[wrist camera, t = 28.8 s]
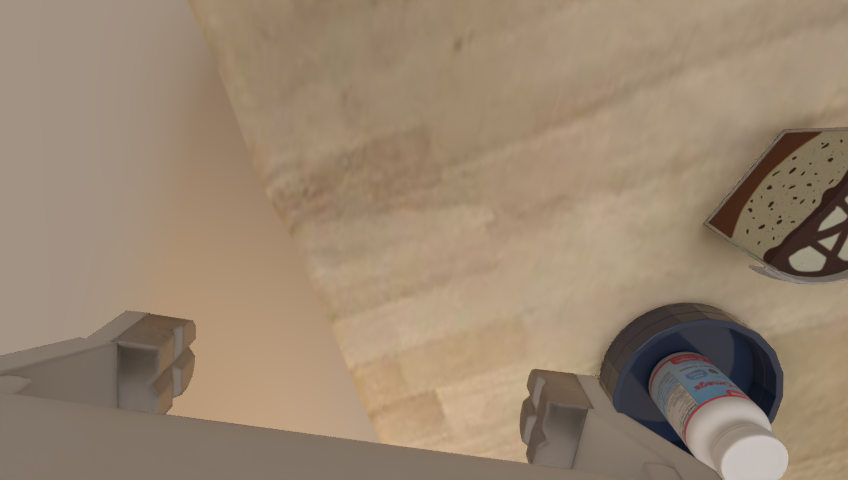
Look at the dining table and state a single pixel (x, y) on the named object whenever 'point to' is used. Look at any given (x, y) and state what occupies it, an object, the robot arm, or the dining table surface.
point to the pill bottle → (716, 419)
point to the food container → (793, 208)
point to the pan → (688, 332)
